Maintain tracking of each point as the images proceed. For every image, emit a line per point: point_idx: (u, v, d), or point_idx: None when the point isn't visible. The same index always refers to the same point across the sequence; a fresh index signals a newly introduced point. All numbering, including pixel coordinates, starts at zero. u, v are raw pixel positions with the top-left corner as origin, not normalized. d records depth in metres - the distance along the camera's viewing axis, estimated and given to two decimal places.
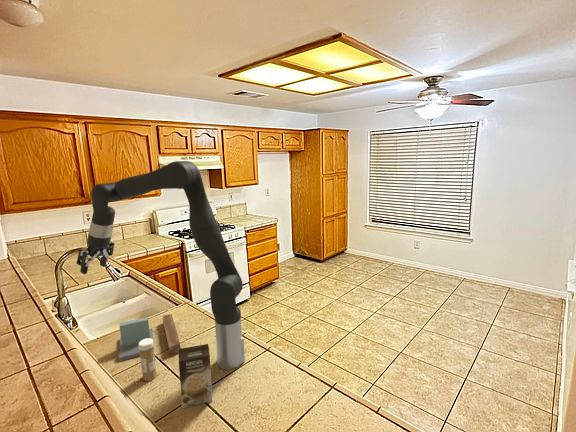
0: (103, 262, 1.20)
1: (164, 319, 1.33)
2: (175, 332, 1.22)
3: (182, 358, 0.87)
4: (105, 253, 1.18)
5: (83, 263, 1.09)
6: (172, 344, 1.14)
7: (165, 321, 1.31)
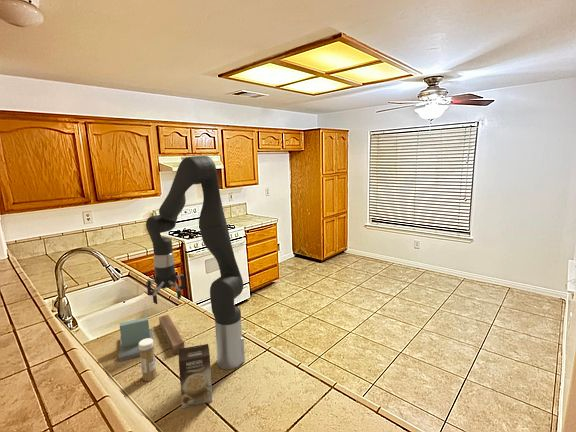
0: (177, 295, 1.24)
1: (161, 320, 1.32)
2: (176, 331, 1.23)
3: (182, 358, 0.87)
4: (173, 285, 1.21)
5: (149, 292, 1.18)
6: (176, 343, 1.15)
7: (163, 322, 1.30)
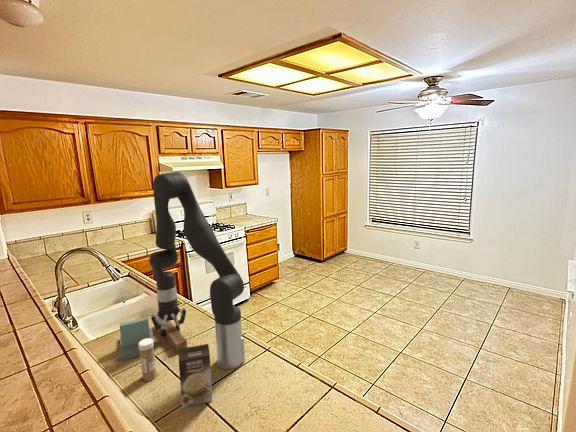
0: None
1: (159, 320, 1.31)
2: (177, 331, 1.23)
3: (182, 358, 0.87)
4: (174, 319, 1.24)
5: (157, 326, 1.21)
6: (179, 341, 1.16)
7: None
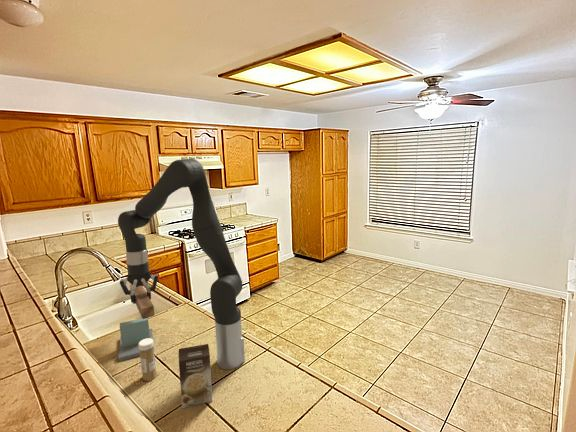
0: None
1: None
2: (146, 297, 1.16)
3: (182, 358, 0.87)
4: (145, 284, 1.17)
5: (126, 291, 1.15)
6: (145, 306, 1.09)
7: None
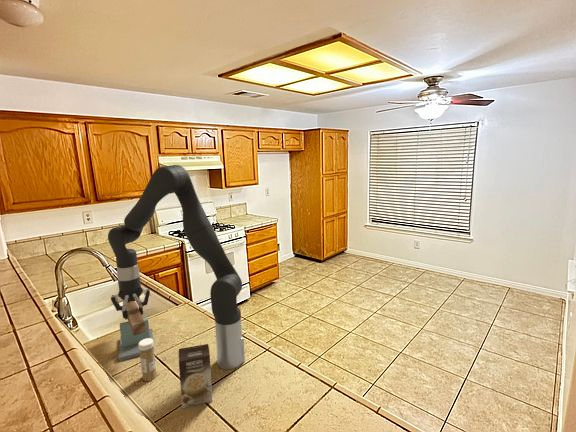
0: None
1: None
2: (138, 312, 1.15)
3: (182, 358, 0.87)
4: (136, 299, 1.16)
5: (118, 307, 1.14)
6: (136, 323, 1.08)
7: None
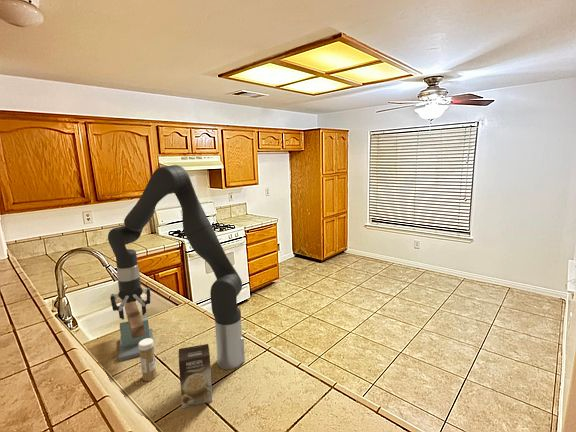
0: (142, 310, 1.18)
1: (126, 303, 1.24)
2: (138, 315, 1.15)
3: (182, 358, 0.87)
4: (138, 299, 1.16)
5: (114, 307, 1.13)
6: (135, 325, 1.08)
7: (127, 305, 1.23)
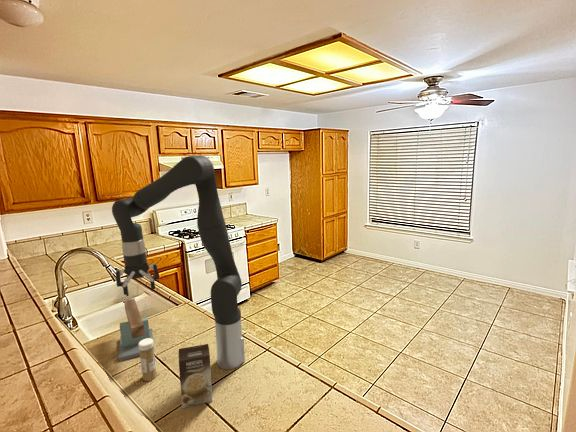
0: None
1: (126, 303, 1.24)
2: (138, 315, 1.15)
3: (182, 358, 0.87)
4: (145, 275, 1.12)
5: (118, 283, 1.08)
6: (135, 325, 1.08)
7: (127, 305, 1.23)
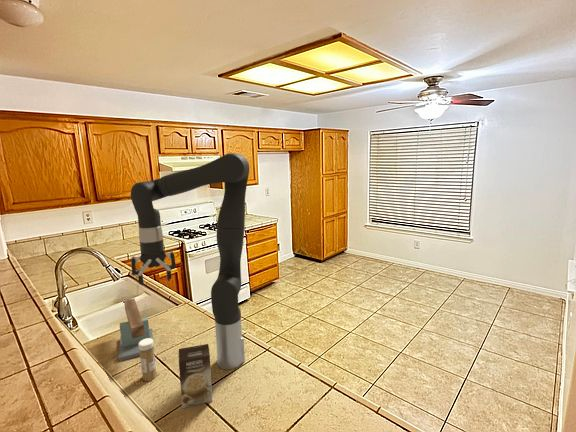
0: (167, 275, 1.08)
1: (126, 303, 1.24)
2: (138, 315, 1.15)
3: (182, 358, 0.87)
4: (162, 264, 1.05)
5: (133, 271, 1.02)
6: (135, 325, 1.08)
7: (127, 305, 1.23)
